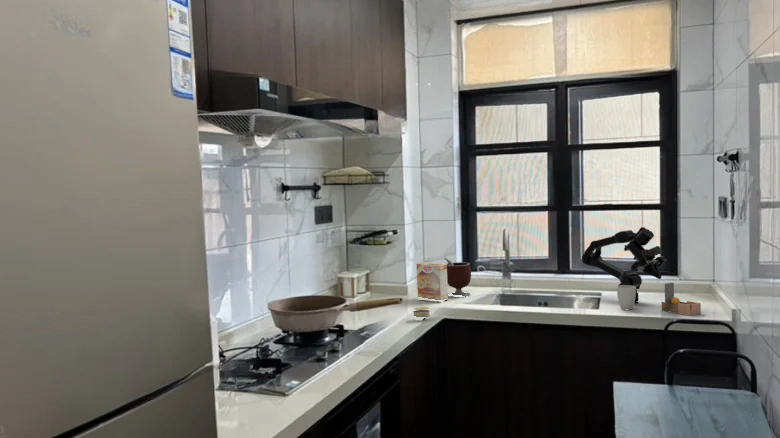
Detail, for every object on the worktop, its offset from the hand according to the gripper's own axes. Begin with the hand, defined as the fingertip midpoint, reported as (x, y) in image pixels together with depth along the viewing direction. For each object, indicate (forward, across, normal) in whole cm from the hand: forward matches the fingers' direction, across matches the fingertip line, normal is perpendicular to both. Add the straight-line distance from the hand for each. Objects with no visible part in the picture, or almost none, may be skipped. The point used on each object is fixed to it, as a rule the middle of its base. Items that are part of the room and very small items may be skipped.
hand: (660, 278), depth 260 cm
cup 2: (+19, 0, 0) cm, 19 cm away
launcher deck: (+14, 0, +5) cm, 15 cm away
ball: (+12, 0, +2) cm, 12 cm away
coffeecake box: (-50, -67, +70) cm, 109 cm away
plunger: (+11, 0, +5) cm, 11 cm away
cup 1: (+3, -12, +16) cm, 20 cm away
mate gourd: (-52, -50, +72) cm, 101 cm away
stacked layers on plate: (-27, -94, +47) cm, 109 cm away
